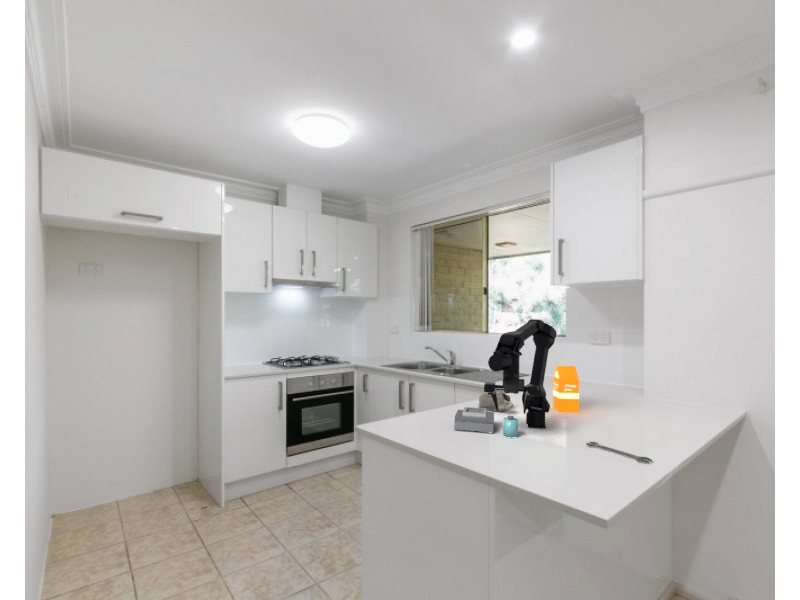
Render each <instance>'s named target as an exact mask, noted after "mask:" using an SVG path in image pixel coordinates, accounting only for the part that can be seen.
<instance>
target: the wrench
mask: <svg viewBox="0 0 800 600" xmlns="http://www.w3.org/2000/svg"><path fill="white" fill-rule="evenodd" d="M587 446H588V448H592V449H599V450H601V451H605V452H607V451H608V453H611V452H612V454H614V453H615V454H614V455H617V454H618V456H620V455H621V456H620V457H625V458H628V459H631V460H634V461H636V462H637V463H639V464H644V465H650V464H653V460H652V458H651V457H648V456H642V455H641V456H639V455H636V454H632V453H629V452H626V451H625V452H624V451H622V450H618V449H616V448H612V447H609V446H606V445H602V444H600V443H598V442H595V441H588V442H586V447H587Z"/></svg>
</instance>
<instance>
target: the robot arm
mask: <svg viewBox="0 0 800 600" xmlns="http://www.w3.org/2000/svg"><path fill="white" fill-rule="evenodd" d="M557 336H558V335H557V330H556V329H555V328H554V327H553V326H552V325H550V324H548V323H546V322H544V321H543V320H542V319H537V318H536V319H535V318H534V319H533V318H532V319H528V320H527V322H526V323H524V324H523V325H522V326H520V327H519V328H517V329H516V330H514V331H513V330H512V331H507V332H505V333H502V334H501V336H500V338H499V340H498V342H497V345H496V347H495V349H494V351H493V354H491V356H490V357H489V358H488V362H487V363H488V367H489V369H490V370H491V371H493V372H495V373H496V372H501V371H502V385H501V384H496V382H495V381H494V382H493V381H492V382H490V381H485V382H484V383H483V385H484V386H483V392H484V393H487V394H488V395H490V396H491V397H492V399H493V401H494V404H495V407H496V410H497V411H496V413H499V412H498V401H497V393H498V392H497V391H503V393H505V394H514V395H517V394H519V392H521V393H522V392H523V393H522V395H521V400H522V406H523V407H522V408H523V414H524V415H525V417H526V418H525V419H526V420H525V424H526V425H527V428H535V429H546V428H547V426H546V413H549V412H550V411H551V405H550V403H549V401H548V400H547V392H546V389H545V387H544V381H545V375H546V370H547V369H546V368H547V363H548V356H549V350H550V349H551V348H552V346H553V345H555V341H556V338H557ZM531 337H532V342H533V343H534V346H535V351H534V355H533V356H534V357H533V362H532V368H531V375H530V381H529V383H527V384H526V385H525V379H524V378H520V356H523V353H522V352H521V350H522V348H523V347H524V346H525V341H527V340H528V339H529V338H531Z"/></svg>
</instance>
